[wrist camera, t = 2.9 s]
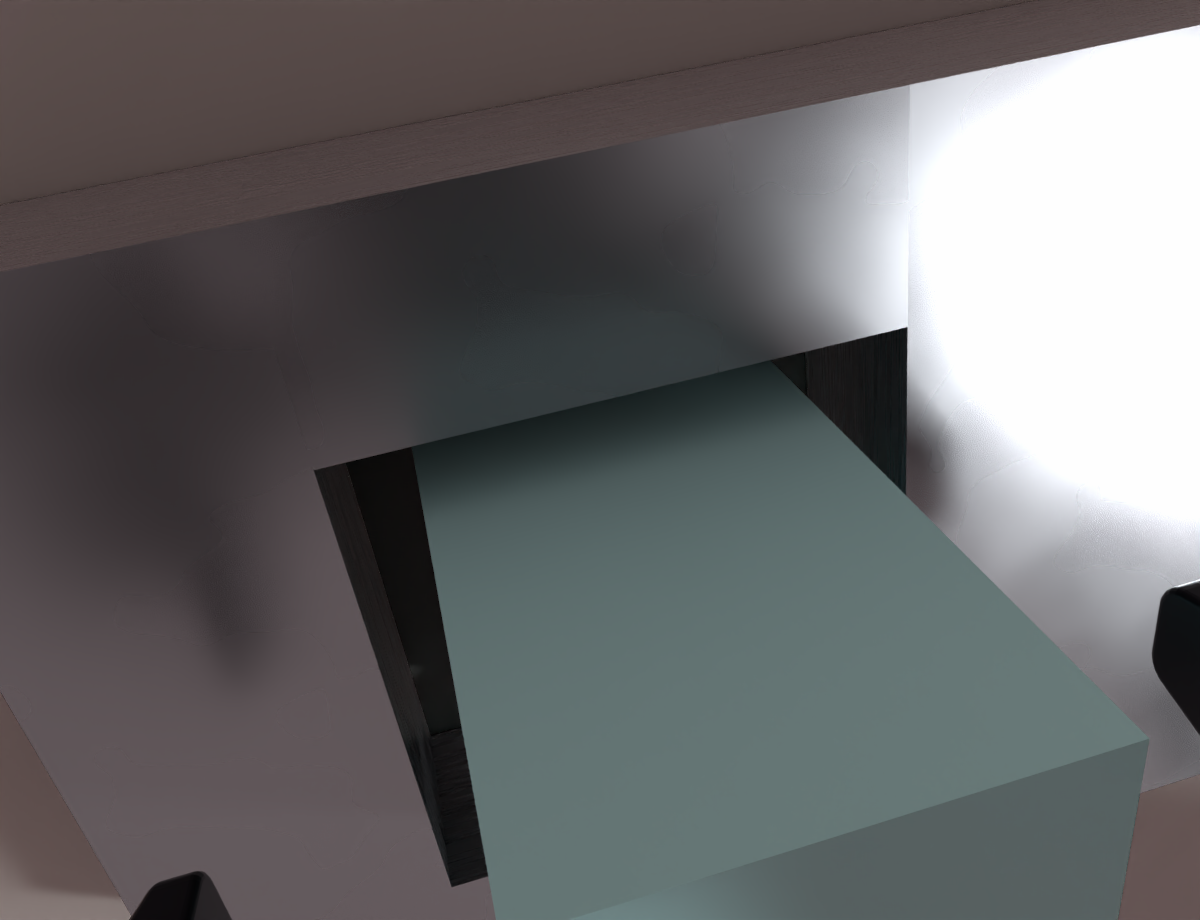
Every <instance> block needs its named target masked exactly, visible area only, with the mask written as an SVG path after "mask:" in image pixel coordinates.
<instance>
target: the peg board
mask: <svg viewBox="0 0 1200 920" xmlns="http://www.w3.org/2000/svg"><path fill="white" fill-rule="evenodd" d="M802 352H805V361H806V383H807V397H808V398H809V399H810V400H811V401H812V402H813V403H814V404H815V405H816V406H817V407H818V408H819V409H820V410H821V411H822V412H823V413H824V414H825V415H826V416H827V417H828V418H829V419H830V420H831V421H832V422H833V423H834V424H835V425H836V426H837V427H838V428H839V429H840V430H841V431H842V432H843V433H844V434H845V435H846V436H847V437H848V438H849V439H850V440H851V441H852V442H853V443H854V444H855V445H856V446H857V447H858V448H859V449H860V450H861V451H862V452H863V453H864V454H865V455H866V456H867V457H868V458H869V459H870V460H871V461H872V462H873V463H874V464H875V465H876V466H877V467H878V468H879V469H880V470H881V471H882V472H883V473H884V474H885V475H886V476H887V477H888V478H889V479H890V480H891V481H892V482H893V483H894V484H895V485H896V486H897V487H898V488H899V489H900V490H901V491H902V492H903V493H904V494H905V495H906V496H907V497H908V498H909V499H910V500H911V501H912V502H913V503H914V504H915V505H916V506H917V507H918V508H919V509H920V510H921V511H922V512H923V513H924V514H925V515H926V516H927V517H928V518H929V519H930V520H931V521H932V522H933V523H934V524H935V525H936V526H937V527H938V528H939V529H940V530H941V531H942V532H943V533H944V534H945V535H946V536H947V537H948V538H949V539H950V540H951V541H952V542H953V543H954V544H955V545H956V546H957V547H958V548H959V549H960V550H961V551H962V552H963V553H964V554H965V555H966V556H967V557H968V558H969V559H970V560H971V561H972V562H973V563H974V564H975V565H976V566H977V567H978V568H979V569H980V570H981V571H982V572H983V573H984V574H985V575H986V576H987V577H988V578H989V579H990V580H991V581H992V582H993V583H994V584H995V585H996V586H997V587H998V588H999V589H1000V590H1001V591H1002V592H1003V593H1004V594H1005V595H1006V596H1007V597H1008V598H1009V599H1010V600H1011V601H1012V602H1013V603H1014V604H1015V605H1016V606H1017V607H1018V608H1019V609H1020V610H1021V611H1022V612H1023V613H1024V614H1025V615H1026V616H1027V617H1028V618H1029V619H1030V620H1031V621H1032V622H1033V623H1034V624H1035V625H1036V626H1037V627H1038V628H1039V629H1040V630H1041V631H1042V632H1043V633H1044V634H1045V635H1046V636H1047V637H1048V638H1049V639H1050V640H1051V641H1052V642H1053V643H1054V644H1055V645H1056V646H1057V647H1058V648H1059V649H1060V650H1061V651H1062V652H1063V653H1064V654H1065V655H1066V656H1067V657H1068V658H1069V659H1070V660H1071V661H1072V662H1073V663H1074V664H1075V665H1076V666H1077V667H1078V668H1079V669H1080V670H1081V671H1082V672H1083V673H1084V674H1085V675H1086V676H1087V677H1088V678H1089V679H1090V680H1091V681H1092V682H1094V683H1095V684H1096V685H1097V686H1098V687H1099V688H1100V689H1101V690H1102V691H1103V692H1104V693H1105V694H1106V695H1107V696H1108V697H1109V698H1110V699H1111V700H1112V701H1113V702H1114V703H1115V704H1116V705H1117V706H1118V707H1119V708H1120V709H1121V710H1122V711H1123V712H1124V713H1125V714H1126V715H1127V716H1128V717H1129V718H1130V719H1131V720H1132V721H1133V722H1134V723H1135V724H1136V725H1137V726H1138V727H1139V728H1140V729H1141V730H1142V731H1143V732H1144V733H1145V734H1146V735H1147V736H1148V737H1149V738H1150V739H1149V745H1148V751H1147V756H1146V762H1145V768H1144V774H1143V779H1142V785H1141V791H1140V793H1143V792H1146V791H1149V790H1152V789H1155V788H1158V787H1162V786H1165V785H1168V784H1171V783H1174V782H1177V781H1180V780H1183V779H1187V778H1190V777H1193V776H1196V775H1199V774H1200V735H1199V734H1198V733H1197V731H1196V730H1195V728H1194V727H1193V726H1192V724H1191V723H1190V721H1189V720H1188V719H1187V717H1186V716H1185V714H1184V713H1183V712H1182V710H1181V709H1180V707H1179V706H1178V705H1177V703H1176V702H1175V700H1174V699H1173V698H1172V696H1171V695H1170V693H1169V692H1168V691H1167V689H1166V688H1165V686H1164V685H1163V684H1162V682H1161V681H1160V679H1159V677H1158V675H1157V673H1156V671H1155V669H1154V665H1153V662H1152V647H1153V641H1154V635H1155V628H1156V622H1157V616H1158V610H1159V604H1160V600H1161V597H1162V596H1163V594H1164V593H1165V592H1166V590H1168V589H1170V588H1172V587H1175V586H1179V585H1182V584H1186V583H1189V582H1193V581H1196V580H1200V0H1037V1H1032V2H1027V3H1022V4H1017V5H1012V6H1007V7H1002V8H997V9H992V10H987V11H982V12H977V13H972V14H966V15H961V16H956V17H951V18H946V19H941V20H936V21H931V22H926V23H921V24H916V25H911V26H906V27H901V28H896V29H890V30H885V31H880V32H875V33H870V34H865V35H860V36H855V37H850V38H845V39H840V40H835V41H830V42H825V43H820V44H815V45H809V46H804V47H799V48H794V49H789V50H784V51H779V52H774V53H769V54H764V55H759V56H754V57H749V58H744V59H739V60H734V61H728V62H723V63H718V64H713V65H708V66H703V67H698V68H693V69H688V70H683V71H678V72H673V73H668V74H663V75H658V76H652V77H647V78H642V79H637V80H632V81H627V82H622V83H617V84H612V85H607V86H602V87H597V88H592V89H587V90H582V91H577V92H571V93H566V94H561V95H556V96H551V97H546V98H541V99H536V100H531V101H526V102H521V103H516V104H511V105H506V106H501V107H496V108H490V109H485V110H480V111H475V112H470V113H465V114H460V115H455V116H450V117H445V118H440V119H435V120H430V121H425V122H420V123H414V124H409V125H404V126H399V127H394V128H389V129H384V130H379V131H374V132H369V133H364V134H359V135H354V136H349V137H344V138H339V139H333V140H328V141H323V142H318V143H313V144H308V145H303V146H298V147H293V148H288V149H283V150H278V151H273V152H268V153H263V154H258V155H252V156H247V157H242V158H237V159H232V160H227V161H222V162H217V163H212V164H207V165H202V166H197V167H192V168H187V169H182V170H176V171H171V172H166V173H161V174H156V175H151V176H146V177H141V178H136V179H131V180H126V181H121V182H116V183H111V184H106V185H101V186H95V187H90V188H85V189H80V190H75V191H70V192H65V193H60V194H55V195H50V196H45V197H40V198H35V199H30V200H25V201H20V202H14V203H9V204H4V205H0V692H1V694H2V695H3V697H4V699H5V700H6V702H7V704H8V706H9V707H10V709H11V711H12V712H13V714H14V716H15V717H16V719H17V721H18V723H19V724H20V726H21V728H22V729H23V731H24V733H25V735H26V736H27V738H28V740H29V741H30V743H31V745H32V747H33V748H34V750H35V752H36V753H37V755H38V757H39V758H40V760H41V762H42V764H43V765H44V767H45V769H46V770H47V772H48V774H49V776H50V777H51V779H52V781H53V782H54V784H55V786H56V788H57V789H58V791H59V793H60V794H61V796H62V798H63V800H64V801H65V803H66V805H67V806H68V808H69V810H70V811H71V813H72V815H73V817H74V818H75V820H76V822H77V823H78V825H79V827H80V829H81V830H82V832H83V834H84V835H85V837H86V839H87V841H88V842H89V844H90V846H91V847H92V849H93V851H94V852H95V854H96V856H97V858H98V859H99V861H100V863H101V864H102V866H103V868H104V870H105V871H106V873H107V875H108V876H109V878H110V880H111V882H112V883H113V885H114V887H115V888H116V890H117V892H118V893H119V895H120V897H121V899H122V900H123V902H124V904H125V905H126V907H127V909H128V911H129V912H130V914H131V916H132V915H133V913H134V912H135V910H136V909H137V907H138V905H139V904H140V902H141V901H142V899H143V898H144V896H145V895H146V893H147V892H148V891H149V889H150V888H152V887H153V886H154V885H155V884H156V883H158V882H160V881H163V880H167V879H170V878H174V877H177V876H180V875H184V874H187V873H191V872H194V871H203V872H205V873H206V874H207V875H208V876H209V877H210V878H211V880H212V881H213V883H214V885H215V887H216V889H217V891H218V893H219V895H220V897H221V899H222V901H223V903H224V905H225V907H226V909H227V910H228V912H229V914H230V916H231V918H232V920H496V917H495V911H494V906H493V900H492V894H491V889H490V883H489V878H488V872H487V866H486V861H485V855H484V849H483V844H482V838H481V833H480V827H479V821H478V816H477V810H476V805H475V799H474V793H473V788H472V782H471V777H470V771H469V765H468V760H467V754H466V749H465V743H464V737H463V732H462V727H460V728H457V729H453V730H450V731H446V732H443V733H439V734H435V735H432V736H430V732H429V729H428V726H427V723H426V719H425V716H424V713H423V710H422V707H421V703H420V700H419V697H418V694H417V691H416V687H415V684H414V681H413V678H412V675H411V671H410V668H409V665H408V662H407V658H406V655H405V652H404V649H403V646H402V642H401V639H400V636H399V633H398V630H397V626H396V623H395V620H394V617H393V614H392V610H391V607H390V604H389V601H388V597H387V594H386V591H385V588H384V585H383V581H382V578H381V575H380V572H379V569H378V565H377V562H376V559H375V556H374V552H373V549H372V546H371V543H370V540H369V536H368V533H367V530H366V527H365V524H364V520H363V517H362V514H361V511H360V508H359V504H358V501H357V498H356V495H355V491H354V488H353V485H352V482H351V479H350V475H349V472H348V469H347V466H346V462H350V461H354V460H358V459H362V458H367V457H371V456H375V455H379V454H383V453H387V452H391V451H396V450H400V449H404V448H408V447H412V446H416V445H420V444H425V443H429V442H433V441H437V440H441V439H445V438H449V437H454V436H458V435H462V434H466V433H470V432H474V431H479V430H483V429H487V428H491V427H495V426H499V425H503V424H508V423H512V422H516V421H520V420H524V419H528V418H532V417H537V416H541V415H545V414H549V413H553V412H557V411H561V410H566V409H570V408H574V407H578V406H582V405H586V404H590V403H595V402H599V401H603V400H607V399H611V398H615V397H619V396H624V395H628V394H632V393H636V392H640V391H644V390H649V389H653V388H657V387H661V386H665V385H669V384H673V383H678V382H682V381H686V380H690V379H694V378H698V377H702V376H707V375H711V374H715V373H719V372H723V371H727V370H731V369H736V368H740V367H744V366H748V365H752V364H756V363H760V362H765V361H769V360H773V359H777V358H781V357H785V356H789V355H794V354H798V353H802Z"/></svg>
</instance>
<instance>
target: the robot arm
mask: <svg viewBox="0 0 1200 920" xmlns="http://www.w3.org/2000/svg"><path fill="white" fill-rule="evenodd" d="M1152 662H1153V665H1154V669H1155V671H1156V673H1157V675H1158V677H1159V679H1160V681H1161V682H1162V684H1163V685H1164V686H1165V688H1166V689H1167V691H1168V692H1169V693H1170V695H1171V696H1172V698H1173V699H1174V700H1175V702H1176V703H1177V705H1178V706H1179V707H1180V709H1181V710H1182V712H1183V713H1184V714H1185V716H1186V717H1187V719H1188V720H1189V721H1190V723H1191V724H1192V726H1193V727H1194V728H1195V730H1196V731H1197V733H1198V734H1199V735H1200V580H1196V581H1193V582H1189V583H1186V584H1182V585H1179V586H1175V587H1172V588H1170V589H1168V590H1166V592H1165V593H1164V594H1163V596H1162V597H1161V600H1160V604H1159V610H1158V616H1157V622H1156V628H1155V635H1154V641H1153V647H1152ZM129 920H232V918H231V916H230V914H229V912H228V910H227V909H226V907H225V905H224V903H223V901H222V899H221V897H220V895H219V893H218V891H217V889H216V887H215V885H214V883H213V881H212V880H211V878H210V877H209V876H208V875H207V874H206V873H205V872H203V871H194V872H191V873H187V874H184V875H180V876H177V877H174V878H170V879H167V880H163V881H160V882H158V883H156V884H155V885H154V886H153V887H152V888H150V889H149V891H148V892H147V893H146V895H145V896H144V898H143V899H142V901H141V902H140V904H139V905H138V907H137V909H136V910H135V912H134V913H133V915H132V916H131V918H130V919H129Z"/></svg>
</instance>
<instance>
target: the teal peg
mask: <svg viewBox="0 0 1200 920" xmlns="http://www.w3.org/2000/svg"><path fill="white" fill-rule="evenodd" d="M412 452H413V457H414V463H415V469H416V474H417V480H418V485H419V491H420V497H421V502H422V508H423V513H424V519H425V525H426V530H427V536H428V541H429V547H430V553H431V558H432V564H433V569H434V575H435V581H436V586H437V592H438V597H439V603H440V609H441V614H442V620H443V625H444V631H445V637H446V642H447V648H448V653H449V659H450V665H451V670H452V676H453V681H454V687H455V693H456V698H457V704H458V709H459V715H460V721H461V726H462V732H463V737H464V743H465V749H466V754H467V760H468V765H469V771H470V777H471V782H472V788H473V793H474V799H475V805H476V810H477V816H478V821H479V827H480V833H481V838H482V844H483V849H484V855H485V861H486V866H487V872H488V878H489V883H490V889H491V894H492V900H493V906H494V911H495V917H496V920H1118V916H1119V911H1120V905H1121V899H1122V894H1123V888H1124V882H1125V876H1126V871H1127V865H1128V859H1129V854H1130V848H1131V842H1132V836H1133V831H1134V825H1135V819H1136V814H1137V808H1138V802H1139V796H1140V791H1141V785H1142V779H1143V774H1144V768H1145V762H1146V756H1147V751H1148V745H1149V739H1150V738H1149V737H1148V736H1147V735H1146V734H1145V733H1144V732H1143V731H1142V730H1141V729H1140V728H1139V727H1138V726H1137V725H1136V724H1135V723H1134V722H1133V721H1132V720H1131V719H1130V718H1129V717H1128V716H1127V715H1126V714H1125V713H1124V712H1123V711H1122V710H1121V709H1120V708H1119V707H1118V706H1117V705H1116V704H1115V703H1114V702H1113V701H1112V700H1111V699H1110V698H1109V697H1108V696H1107V695H1106V694H1105V693H1104V692H1103V691H1102V690H1101V689H1100V688H1099V687H1098V686H1097V685H1096V684H1095V683H1094V682H1092V681H1091V680H1090V679H1089V678H1088V677H1087V676H1086V675H1085V674H1084V673H1083V672H1082V671H1081V670H1080V669H1079V668H1078V667H1077V666H1076V665H1075V664H1074V663H1073V662H1072V661H1071V660H1070V659H1069V658H1068V657H1067V656H1066V655H1065V654H1064V653H1063V652H1062V651H1061V650H1060V649H1059V648H1058V647H1057V646H1056V645H1055V644H1054V643H1053V642H1052V641H1051V640H1050V639H1049V638H1048V637H1047V636H1046V635H1045V634H1044V633H1043V632H1042V631H1041V630H1040V629H1039V628H1038V627H1037V626H1036V625H1035V624H1034V623H1033V622H1032V621H1031V620H1030V619H1029V618H1028V617H1027V616H1026V615H1025V614H1024V613H1023V612H1022V611H1021V610H1020V609H1019V608H1018V607H1017V606H1016V605H1015V604H1014V603H1013V602H1012V601H1011V600H1010V599H1009V598H1008V597H1007V596H1006V595H1005V594H1004V593H1003V592H1002V591H1001V590H1000V589H999V588H998V587H997V586H996V585H995V584H994V583H993V582H992V581H991V580H990V579H989V578H988V577H987V576H986V575H985V574H984V573H983V572H982V571H981V570H980V569H979V568H978V567H977V566H976V565H975V564H974V563H973V562H972V561H971V560H970V559H969V558H968V557H967V556H966V555H965V554H964V553H963V552H962V551H961V550H960V549H959V548H958V547H957V546H956V545H955V544H954V543H953V542H952V541H951V540H950V539H949V538H948V537H947V536H946V535H945V534H944V533H943V532H942V531H941V530H940V529H939V528H938V527H937V526H936V525H935V524H934V523H933V522H932V521H931V520H930V519H929V518H928V517H927V516H926V515H925V514H924V513H923V512H922V511H921V510H920V509H919V508H918V507H917V506H916V505H915V504H914V503H913V502H912V501H911V500H910V499H909V498H908V497H907V496H906V495H905V494H904V493H903V492H902V491H901V490H900V489H899V488H898V487H897V486H896V485H895V484H894V483H893V482H892V481H891V480H890V479H889V478H888V477H887V476H886V475H885V474H884V473H883V472H882V471H881V470H880V469H879V468H878V467H877V466H876V465H875V464H874V463H873V462H872V461H871V460H870V459H869V458H868V457H867V456H866V455H865V454H864V453H863V452H862V451H861V450H860V449H859V448H858V447H857V446H856V445H855V444H854V443H853V442H852V441H851V440H850V439H849V438H848V437H847V436H846V435H845V434H844V433H843V432H842V431H841V430H840V429H839V428H838V427H837V426H836V425H835V424H834V423H833V422H832V421H831V420H830V419H829V418H828V417H827V416H826V415H825V414H824V413H823V412H822V411H821V410H820V409H819V408H818V407H817V406H816V405H815V404H814V403H813V402H812V401H811V400H810V399H809V398H808V397H807V396H806V395H805V394H804V393H803V392H802V391H801V390H800V389H799V388H798V387H797V386H796V385H795V384H794V383H793V382H792V381H791V380H790V379H789V378H788V377H787V376H786V375H785V374H784V373H783V372H782V371H781V370H780V369H779V368H778V367H777V366H776V365H775V364H773V363H772V362H771V361H770V360H769V361H765V362H760V363H756V364H752V365H748V366H744V367H740V368H736V369H731V370H727V371H723V372H719V373H715V374H711V375H707V376H702V377H698V378H694V379H690V380H686V381H682V382H678V383H673V384H669V385H665V386H661V387H657V388H653V389H649V390H644V391H640V392H636V393H632V394H628V395H624V396H619V397H615V398H611V399H607V400H603V401H599V402H595V403H590V404H586V405H582V406H578V407H574V408H570V409H566V410H561V411H557V412H553V413H549V414H545V415H541V416H537V417H532V418H528V419H524V420H520V421H516V422H512V423H508V424H503V425H499V426H495V427H491V428H487V429H483V430H479V431H474V432H470V433H466V434H462V435H458V436H454V437H449V438H445V439H441V440H437V441H433V442H429V443H425V444H420V445H416V446H412Z"/></svg>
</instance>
